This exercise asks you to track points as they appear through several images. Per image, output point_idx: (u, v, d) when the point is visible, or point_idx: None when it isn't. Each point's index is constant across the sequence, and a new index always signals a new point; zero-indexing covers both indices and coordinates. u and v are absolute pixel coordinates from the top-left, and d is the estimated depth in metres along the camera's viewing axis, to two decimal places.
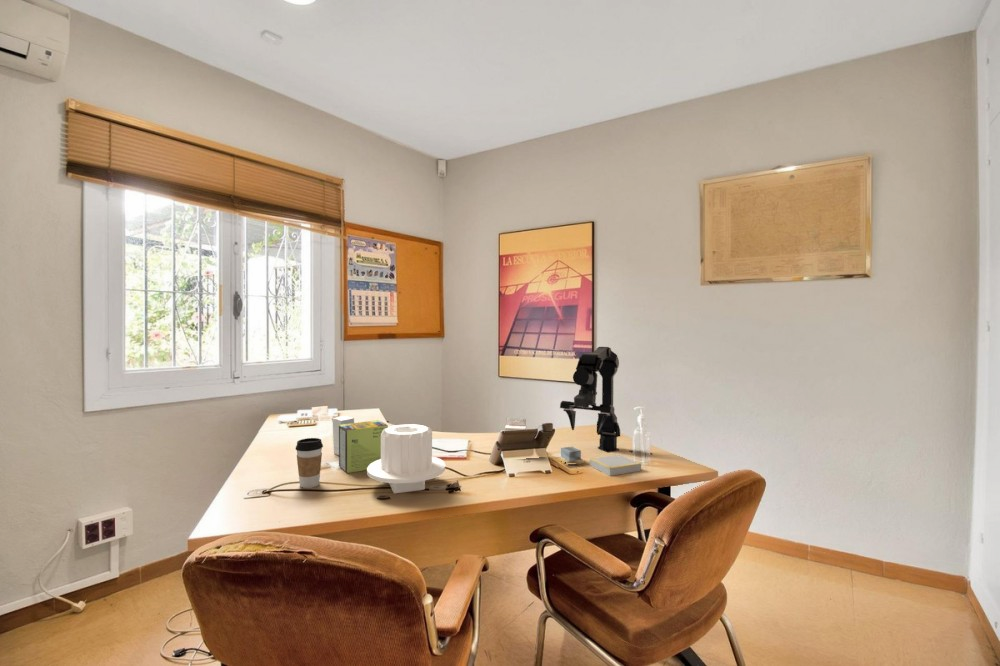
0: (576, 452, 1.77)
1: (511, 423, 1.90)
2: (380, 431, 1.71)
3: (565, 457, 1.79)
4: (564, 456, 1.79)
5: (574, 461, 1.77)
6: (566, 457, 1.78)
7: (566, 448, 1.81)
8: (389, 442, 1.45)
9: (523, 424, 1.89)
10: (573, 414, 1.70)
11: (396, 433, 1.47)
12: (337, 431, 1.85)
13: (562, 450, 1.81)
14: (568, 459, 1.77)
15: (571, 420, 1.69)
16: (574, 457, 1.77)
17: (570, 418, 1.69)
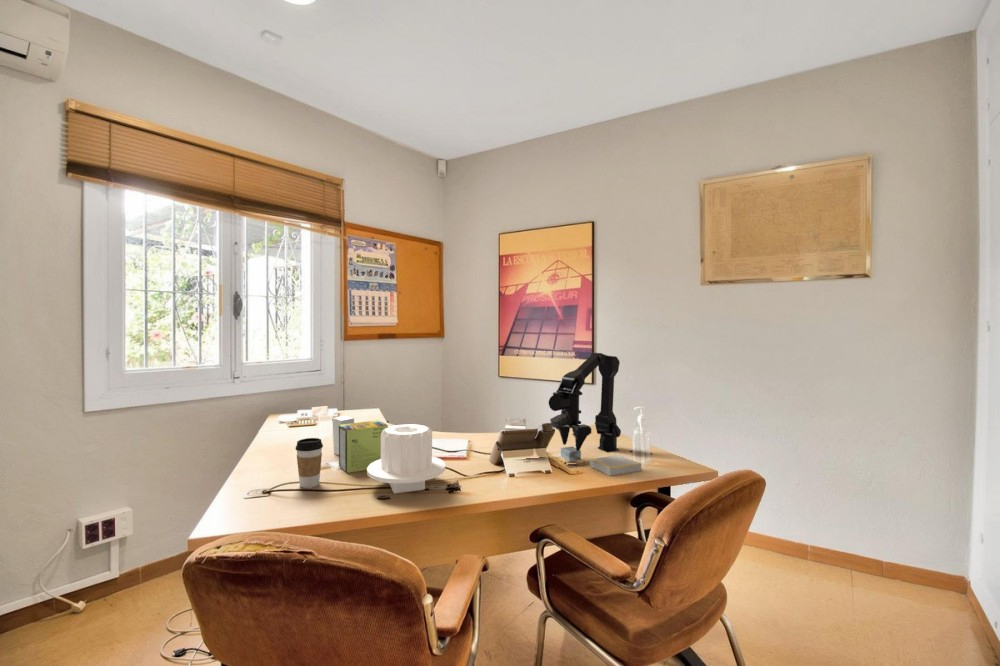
0: (576, 452, 1.77)
1: (511, 423, 1.90)
2: (380, 431, 1.71)
3: (565, 457, 1.79)
4: (564, 456, 1.79)
5: (574, 461, 1.77)
6: (566, 457, 1.78)
7: (566, 448, 1.81)
8: (389, 442, 1.45)
9: (523, 424, 1.89)
10: (564, 430, 1.84)
11: (396, 433, 1.47)
12: (337, 431, 1.85)
13: (562, 450, 1.81)
14: (568, 459, 1.77)
15: (561, 436, 1.84)
16: (574, 457, 1.77)
17: (560, 434, 1.84)
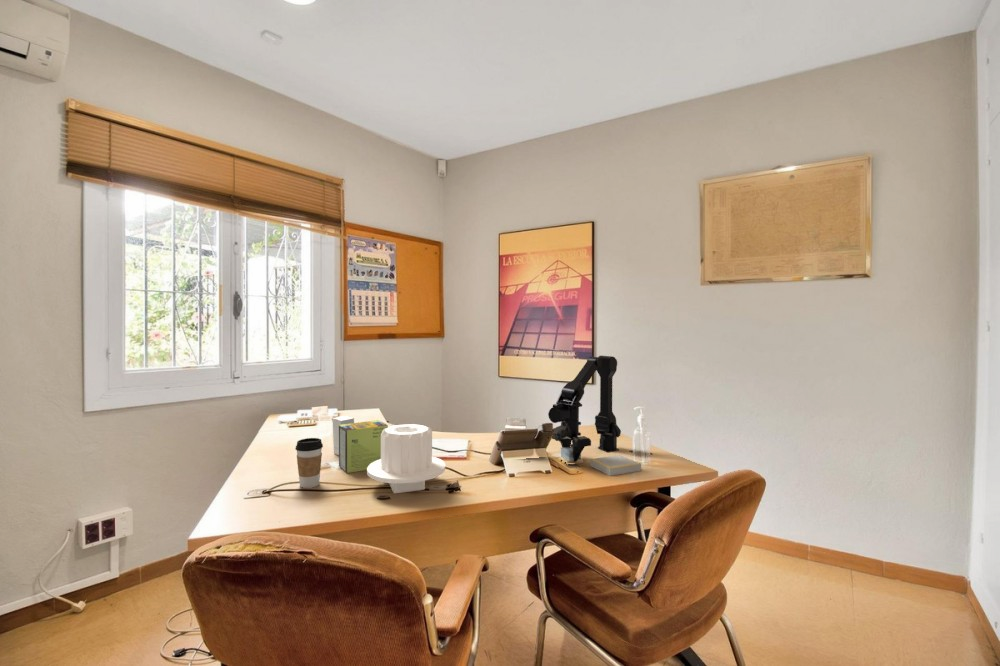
0: None
1: (511, 423, 1.90)
2: (380, 431, 1.71)
3: (565, 457, 1.79)
4: (564, 456, 1.79)
5: None
6: (566, 457, 1.78)
7: (566, 448, 1.81)
8: (389, 442, 1.45)
9: (523, 424, 1.89)
10: (566, 442, 1.83)
11: (396, 433, 1.47)
12: (337, 431, 1.85)
13: (562, 450, 1.81)
14: (568, 459, 1.77)
15: None
16: None
17: (562, 446, 1.83)
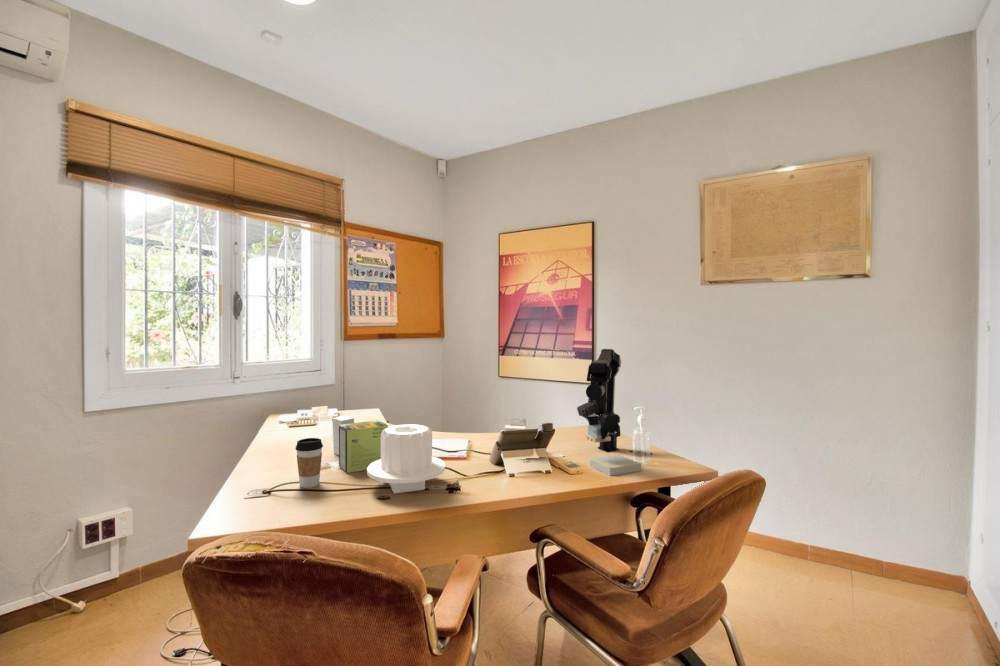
0: None
1: (511, 423, 1.90)
2: (380, 431, 1.71)
3: (592, 434, 1.74)
4: (591, 433, 1.74)
5: (602, 439, 1.72)
6: (593, 434, 1.73)
7: (593, 425, 1.76)
8: (389, 442, 1.45)
9: (523, 424, 1.89)
10: (593, 420, 1.78)
11: (396, 433, 1.47)
12: (337, 431, 1.85)
13: (589, 427, 1.76)
14: (596, 436, 1.72)
15: None
16: None
17: (589, 424, 1.78)
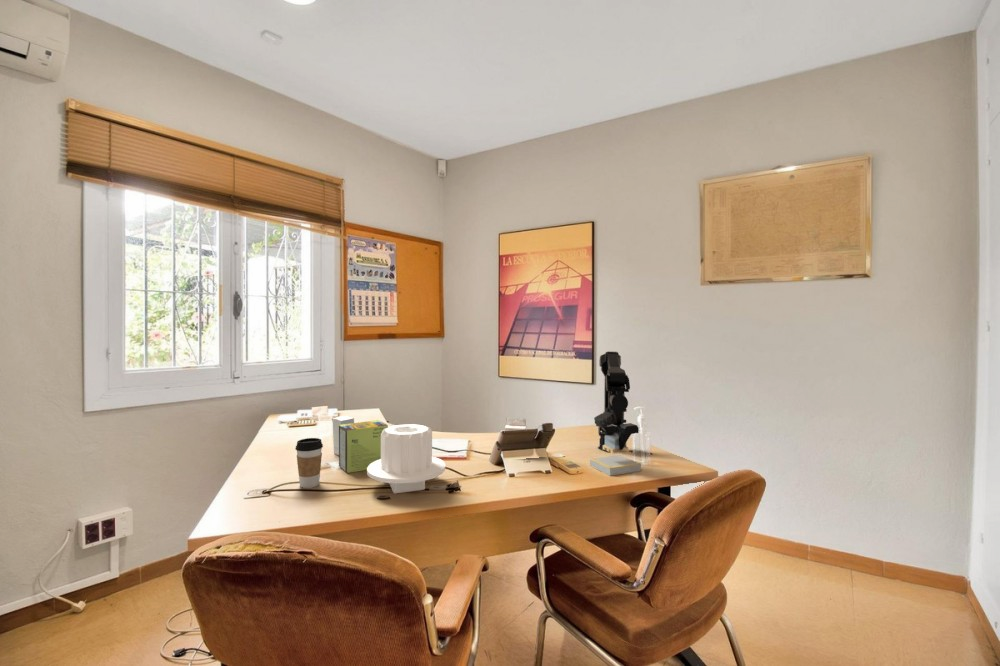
0: None
1: (511, 423, 1.90)
2: (380, 431, 1.71)
3: (610, 445, 1.71)
4: (609, 444, 1.72)
5: None
6: (611, 445, 1.71)
7: (610, 436, 1.73)
8: (389, 442, 1.45)
9: (523, 424, 1.89)
10: (610, 430, 1.76)
11: (396, 433, 1.47)
12: (337, 431, 1.85)
13: (606, 438, 1.73)
14: (613, 447, 1.69)
15: None
16: None
17: (606, 434, 1.76)
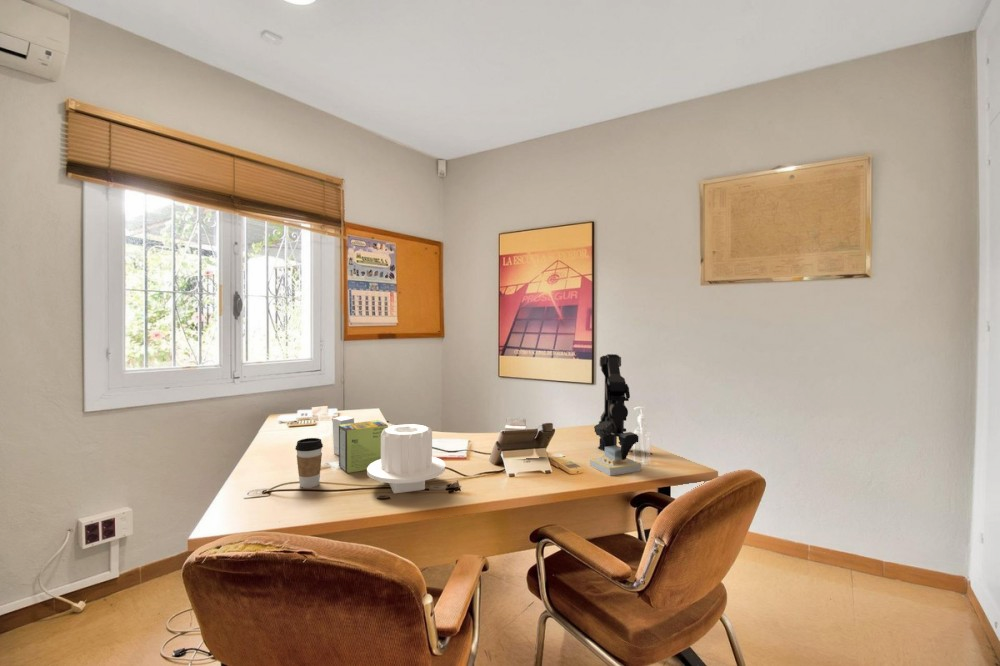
0: None
1: (511, 423, 1.90)
2: (380, 431, 1.71)
3: (610, 456, 1.71)
4: (608, 455, 1.72)
5: (620, 461, 1.70)
6: (611, 456, 1.71)
7: (610, 447, 1.74)
8: (389, 442, 1.45)
9: (523, 424, 1.89)
10: (607, 437, 1.77)
11: (396, 433, 1.47)
12: (337, 431, 1.85)
13: (606, 449, 1.73)
14: (613, 458, 1.69)
15: (604, 444, 1.77)
16: (620, 456, 1.70)
17: (603, 442, 1.77)
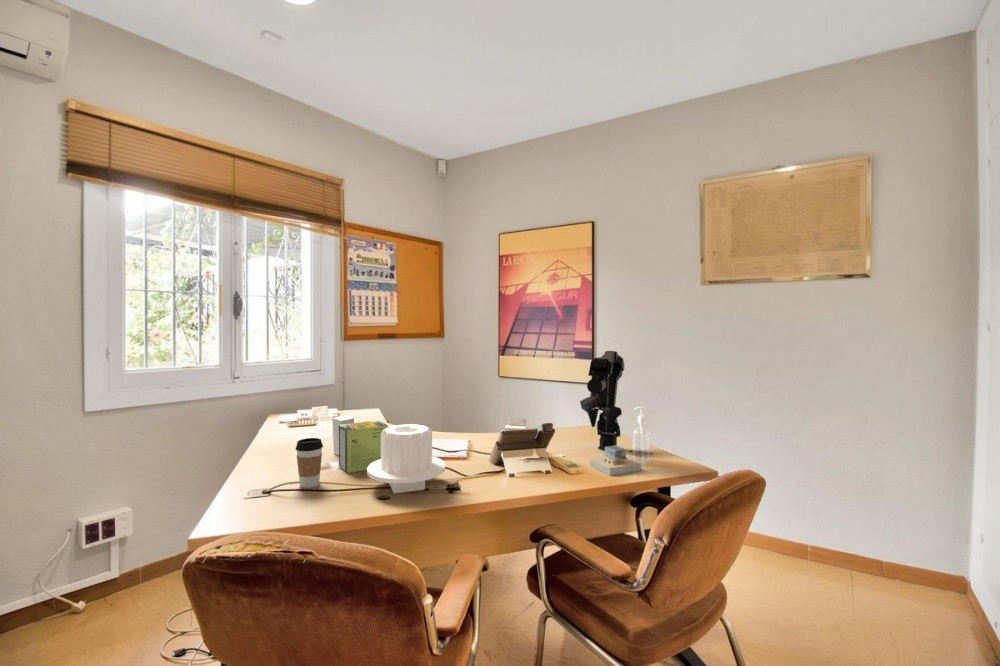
0: (622, 451, 1.70)
1: (511, 423, 1.90)
2: (380, 431, 1.71)
3: (610, 456, 1.71)
4: (608, 455, 1.72)
5: (620, 461, 1.70)
6: (611, 456, 1.71)
7: (610, 447, 1.74)
8: (389, 442, 1.45)
9: (523, 424, 1.89)
10: (593, 412, 1.87)
11: (396, 433, 1.47)
12: (337, 431, 1.85)
13: (606, 449, 1.73)
14: (613, 458, 1.69)
15: (590, 418, 1.87)
16: (620, 456, 1.70)
17: (589, 416, 1.87)
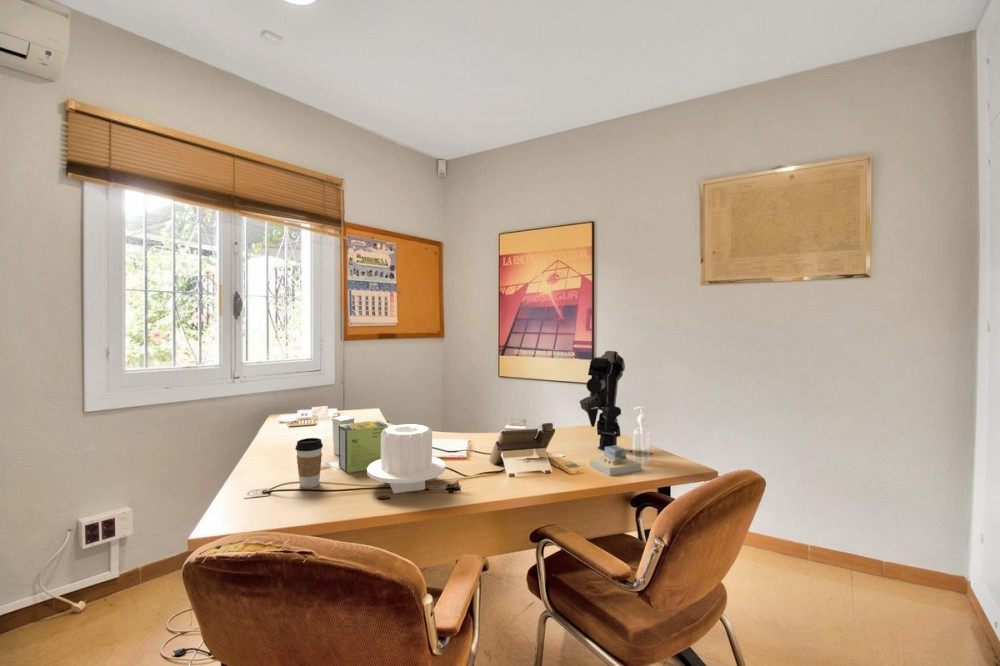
0: (622, 451, 1.70)
1: (511, 423, 1.90)
2: (380, 431, 1.71)
3: (610, 456, 1.71)
4: (608, 455, 1.72)
5: (620, 461, 1.70)
6: (611, 456, 1.71)
7: (610, 447, 1.74)
8: (389, 442, 1.45)
9: (523, 424, 1.89)
10: (593, 412, 1.87)
11: (396, 433, 1.47)
12: (337, 431, 1.85)
13: (606, 449, 1.73)
14: (613, 458, 1.69)
15: (590, 418, 1.87)
16: (620, 456, 1.70)
17: (589, 416, 1.87)
